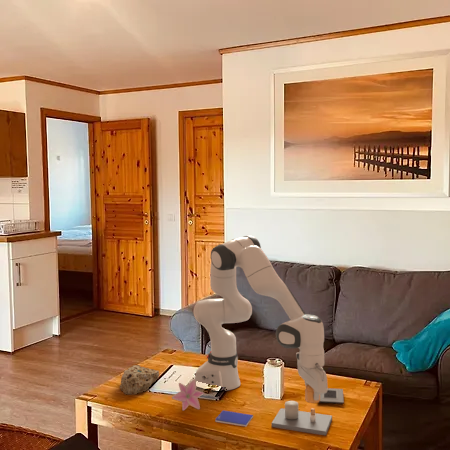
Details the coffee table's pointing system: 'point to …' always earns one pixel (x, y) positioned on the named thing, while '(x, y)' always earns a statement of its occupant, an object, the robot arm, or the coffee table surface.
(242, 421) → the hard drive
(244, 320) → the robot arm
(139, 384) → the rock
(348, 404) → the coffee table surface
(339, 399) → the electrical outlet
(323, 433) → the plate
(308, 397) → the orange rounded cylinder
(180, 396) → the lily
